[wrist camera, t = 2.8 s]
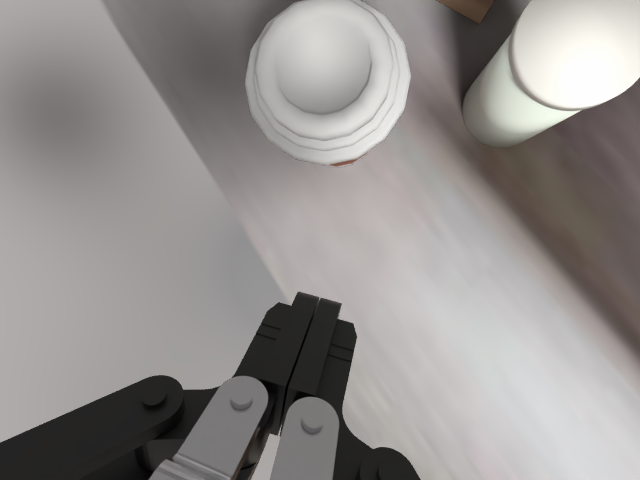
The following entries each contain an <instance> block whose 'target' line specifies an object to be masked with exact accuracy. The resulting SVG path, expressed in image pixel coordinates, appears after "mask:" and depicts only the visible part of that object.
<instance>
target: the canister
mask: <svg viewBox="0 0 640 480" xmlns="http://www.w3.org/2000/svg"><path fill="white" fill-rule="evenodd" d="M639 77H640V0H531V1H530V3H529V4H528V6H527V7H526V8H525V10H524V11H523V12H522V14H521V15H520V16H519V18H518V19H517V21H516V23H515V25H514V27H513V30H512V33H511V34H510V36H509V37H508V38H507V39H506V41H505V42H504V43H503V45H502V46H501V47H500V49H499V50H498V51H497V52H496V54H495V55H494V56H493V58H492V59H491V60H490V62H489V63H488V64H487V66H486V67H485V68H484V69H483V71H482V72H481V73H480V75H479V76H478V77H477V79H476V80H475V81H474V82H473V84H472V85H471V87H470V88H469V89H468V91H467V93H466V95H465V98H464V101H463V108H462V113H463V119H464V123H465V125H466V127H467V129H468V131H469V132H470V133H471V135H472V136H473V137H474V138H475V139H477V140H478V141H480V142H481V143H483V144H485V145H488V146H491V147H497V148H505V147H511V146H514V145H517V144H519V143H522V142H523V141H525V140H527V139H529V138H531V137H533V136H535V135H536V134H538V133H540V132H542V131H544V130H546V129H548V128H549V127H551V126H553V125H555V124H557V123H559V122H561V121H562V120H564V119H566V118H568V117H570V116H572V115H574V114H575V113H577V112H579V111H581V110H585V109H589V108H592V107H595V106H598V105H600V104H602V103H604V102H606V101H608V100H610V99H612V98H614V97H616V96H617V95H619V94H621V93H622V92H624V91H625V90H627V89H628V88H629V87H630V86H632V85H633V84H634V83H635V82H636V81H637V79H638V78H639Z"/></svg>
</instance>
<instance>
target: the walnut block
mask: <svg viewBox="0 0 640 480" xmlns="http://www.w3.org/2000/svg"><path fill="white" fill-rule="evenodd" d="M436 1H438V2H440V3H442V4H444V5H446V6H447V7H449V8H451V9H453V10H455V11H457V12H458V13H460V14H462V15H464V16H466V17H468V18H469V19H471V20H473V21H475V22H477V23H478V24H480V23H481V21H482V20H483V18H484V16H485V15H486V13H487V12H488V10H489V8H490V7H491V5H492V3H493V2H494V0H436Z"/></svg>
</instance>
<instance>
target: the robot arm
mask: <svg viewBox="0 0 640 480" xmlns="http://www.w3.org/2000/svg"><path fill="white" fill-rule="evenodd" d="M318 303H319V304H318ZM341 305H342V303H338V302H335V301H331V300H327V299H324V298H320V301H319V297H316V296H313V295H309V294H306V293H302V292H298V293H297V295H296V297H295V299H294V301H293V304H292V306H290V305H287V304H282V303H280V302H279V303H277V304H276V305H275V306H274V307H272V308H271V309H270V310H268V311H267V313H266V315H265V317H264V319H263V321H262V323H261V326H260V327H259V329H258V330H257V332H256V335H255V336H254V338H253V340H252V342H251V344H250V346H249V348H248V350H247V352H246V354H245V356H244V358H243V359H242V361H241V363H240V365H239V367H238V369H237V371H236V373H235V374H234V376H233V377H232V378H231V379H229V380H227V381H225V382H224V383H223V384H222V385H221V386H219V387H216V388H213V389H205V390H183V388H182V386H181V384H180V383H179V382H178V381H177V380H176V379H174V378H172V377H169V376H163V375H158V376H152V377H149V378H146V379H143V380H141V381H139V382H137V383H134V384H132V385H130V386H128V387H125V388H123V389H121V390H119V391H116V392H114V393H112V394H109V395H107V396H105V397H103V398H101V399H98V400H96V401H94V402H91V403H89V404H87V405H85V406H82V407H80V408H78V409H76V410H73V411H71V412H69V413H66V414H64V415H62V416H60V417H57V418H55V419H53V420H51V421H48V422H46V423H44V424H42V425H39V426H37V427H35V428H33V429H30V430H28V431H26V432H23V433H21V434H19V435H17V436H14V437H12V438H10V439H8V440H5V441H3V442H1V443H0V480H251V479H252V476H253V474H254V472H255V469H256V467H257V465H258V463H259V461H260V458H261V454H262V452H263V450H264V447H265V445H266V442H267V439H268V436H269V434H270V433H271V434H274V435H278V433H279V430H280V427H281V424H282V427H281V432H280V437H281V438H280V442H279V446H278V450H277V454H276V458H275V461H274V465H273V469H272V473H271V477H270V480H421V479H420V478H419V476H418V474H417V473H416V471H415V469H414V468H413V466H412V465H411V463H410V462H409V460H408V459H407V458H406V457H405V456H404V455H402V454H401V453H399V452H398V451H396V450H394V449H391V448H387V447H379V448H375V449H372V448H370V447H369V446H368V445H366V444H365V443H363V442H362V441H361V440H359V439H358V438H357V437H355V436H354V435H353V434H352V433H351V431H350V430H349V429H348V427H347V426H346V424H345V421H344V419H343V415H342V405H343V400H344V395H345V391H346V386H347V381H348V377H349V372H350V367H351V362H352V358H353V353H354V348H355V344H356V339H357V335H356V332H355V328H354V325H353V323H350V322H347V321H343V320H339V319H338V317H339V313H340V309H341Z"/></svg>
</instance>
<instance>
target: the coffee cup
mask: <svg viewBox="0 0 640 480" xmlns="http://www.w3.org/2000/svg"><path fill="white" fill-rule="evenodd" d="M410 79H411V73H410V68H409V63H408V58H407V53H406V48H405V43H404V42H403V40H402V39H401V37H400V36H399V34H398V33H397V31H396V30H395V28H394V27H393V26H392V24H391V23H390V21H389V20H388V18H387V17H386V16H385V15H384V14H382V13H381V12H379V11H377V10H376V9H374V8H372V7H371V6H369V5H368V4H366V3H364V2H363V1H361V0H302V1H298V2H294V3H293V4H292V5H290V6H289V7H288V8H286V9H285V10H284V11H282V12H281V13H280V14H278V15H277V16H276V17H274V18H273V19H272V20H270V21H269V22H268V23H267V25H266V26H265V28H264V29H263V31H262V33H261V34H260V36H259V38H258V39H257V41H256V42H255V44H254V46H253V47H252V49H251V51H250V57H249V62H248V67H247V73H246V78H245V87H246V92H247V97H248V102H249V107H250V112H251V115H252V117H253V118H254V120H255V121H256V123H257V124H258V126H259V127H260V129H261V130H262V132H263V133H264V135H265V136H266V138H267V139H268V141H269V142H270V143H272V144H273V145H275V146H276V147H278V148H279V149H281V150H282V151H284V152H285V153H287V154H288V155H290V156H291V157H293V158H294V159H296V160H301V161H306V162H311V163H317V164H321V165H324V166H330V167H335V168H339V167H344V166H348V165H353V164H354V163H356V162H357V161H359V160H360V159H362V158H363V157H364V156H366V154H367V153H368V151H370V150H371V149H373V148H374V147H375V146H377V145H378V144H380V143H381V142H383V141H384V140H385V139H386V137H387V136H388V134H389V133H390V131H391V130H392V128H393V127H394V125H395V124H396V122H397V121H398V119H399V118H400V116H401V115H402V113H403V111H404V108H405V103H406V98H407V93H408V88H409V84H410Z"/></svg>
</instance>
